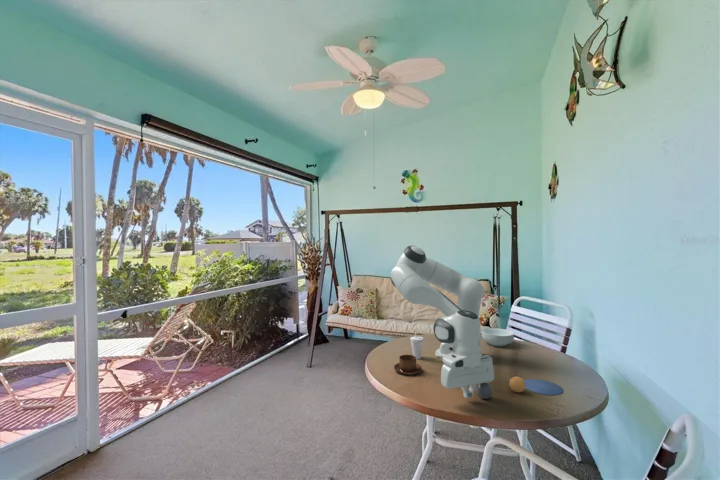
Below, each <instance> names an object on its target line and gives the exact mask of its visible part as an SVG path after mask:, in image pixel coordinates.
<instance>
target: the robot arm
mask: <svg viewBox="0 0 720 480" xmlns="http://www.w3.org/2000/svg"><path fill="white" fill-rule="evenodd" d="M390 281H391V284H392V285H393V287H395V288H396V290H397V291H398V292H399V293H400V294H401V296H402V297H403V298H404V299H405V300H407V302H409V303H411V304H415V305H422V306H423V305H425V306H430V307H433V308H435V309H436V310H437V309H438V310H439V312H441V313H442V314H443V315H444V316H442V317H439V318H436V319H435V322H434V324H433V335H434V337H435V339H436V340H437V341H438V342H440V346H439V348H437V349H436V350H435V353H434V354H435V355H434V356H435V357H437V358H441V359H442V363H443V364H442V366H441V372H440V383H441V385H442V387H444V388H446V389H447V390H450V389H456V388H461V391H462V393H463V397H464V398H466V399H469V398H473V397H474V392H475V390H476V388H477V385H478V384H480V383H490V382H491V383H492V382H493V381H494V380H495V370H494V366H493V358H492V356H491V355H489V354H485V355H483V353H482V348H481V339H482V333H481V331H482V329H481V322H480V308H481V303H482V298H484V296H485V295H484V294H485V289H484V286H483V285H482V284H481V282H480V281H479V280H477V279H475V278H472V277H468V275H467V276H466V275H464V274H463V273H461V272H458V271H456V270H454V269H452V268H451V267H449V266H447V265H445V264H442V263H441V262H439V261H436V260H434V259H433V258H430V257H427V255H426V253H425V251H424V250H423V249H422V248H420V247H418V246H416V245H408V246H407V247H406V248H405V249H404V250H403V252H402V254H401V255H400V257H399V258H398V260H397V261H396V265H395V266H394V267H393V268H392V269H391V272H390ZM430 284H431V285H430ZM432 285H433V286H432ZM434 286H435V287H434ZM436 287H437V288H440V289H442V290H444V291H446V292H448V293H450V294H452V295H455V296H456V297H457V298H458V299H457V304H455V302H454V301H452V300H451V299H449V297H448V296H447V295H446V294H444V293H442V292H441V291H440V290H439V289H437V288H436ZM468 386H469V387H468ZM467 389H468V390H467Z"/></svg>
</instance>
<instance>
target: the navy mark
mask: <svg viewBox="0 0 720 480" xmlns="http://www.w3.org/2000/svg"><path fill="white" fill-rule="evenodd" d="M523 380H524V379H523ZM524 382H525V389H526V390H527V391H529V392H533V393H535V394H539V395H544V396H557V395H561V394H563V392H564V389H563V388H562V386H560V385H558V384H557V383H554V382H551V381H548V380H544V379H540V378H539V379H537V378H530V379H525V380H524Z"/></svg>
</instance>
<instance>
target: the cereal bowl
mask: <svg viewBox="0 0 720 480" xmlns="http://www.w3.org/2000/svg"><path fill="white" fill-rule="evenodd" d="M481 338H482V340H484V341H485V342H487V343H488V344H489V345H491V346H494V347H495V346H496V347H505V346H507V345H509V344H510V345H511V343H513V341H514V340H515V333H514V332H513V331H512V330H509V329H504V328H497V327H491V328H490V327H489V328H488V327H487V328H482V329H481Z"/></svg>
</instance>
